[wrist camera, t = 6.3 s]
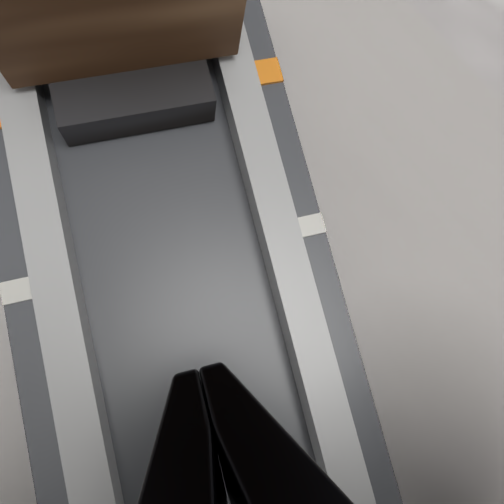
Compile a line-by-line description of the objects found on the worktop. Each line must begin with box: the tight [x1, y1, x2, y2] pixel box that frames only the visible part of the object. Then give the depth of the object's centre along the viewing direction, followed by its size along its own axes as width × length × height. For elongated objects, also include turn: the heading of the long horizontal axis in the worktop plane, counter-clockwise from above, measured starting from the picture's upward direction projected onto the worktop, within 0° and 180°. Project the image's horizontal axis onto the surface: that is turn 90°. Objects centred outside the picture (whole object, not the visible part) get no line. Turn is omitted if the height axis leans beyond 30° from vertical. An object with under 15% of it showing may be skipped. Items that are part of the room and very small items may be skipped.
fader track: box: [0, 0, 403, 504], centre depth 13 cm, size 20×9×2 cm, turn 14°
